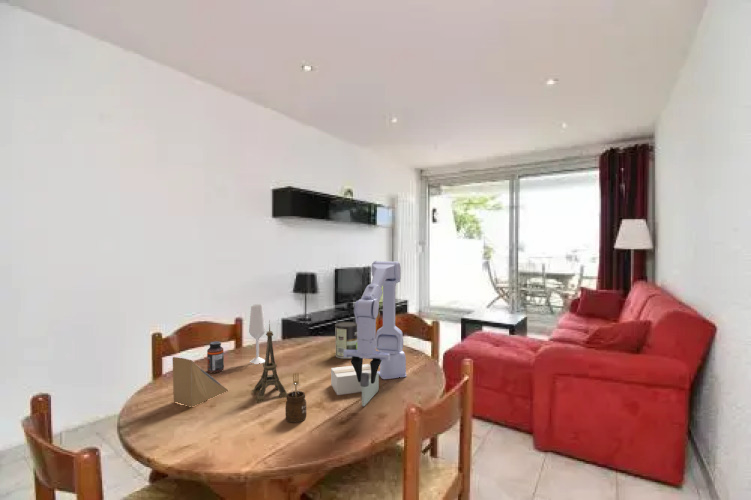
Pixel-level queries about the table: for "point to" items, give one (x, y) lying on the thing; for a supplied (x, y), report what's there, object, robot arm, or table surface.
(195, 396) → the sandwich container
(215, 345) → the supplement bottle
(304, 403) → the utensil holder
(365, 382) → the flap
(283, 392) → the eiffel tower
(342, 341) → the coffee can
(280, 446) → the table surface
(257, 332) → the champagne flute
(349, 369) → the carton
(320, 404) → the table surface
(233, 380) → the table surface
